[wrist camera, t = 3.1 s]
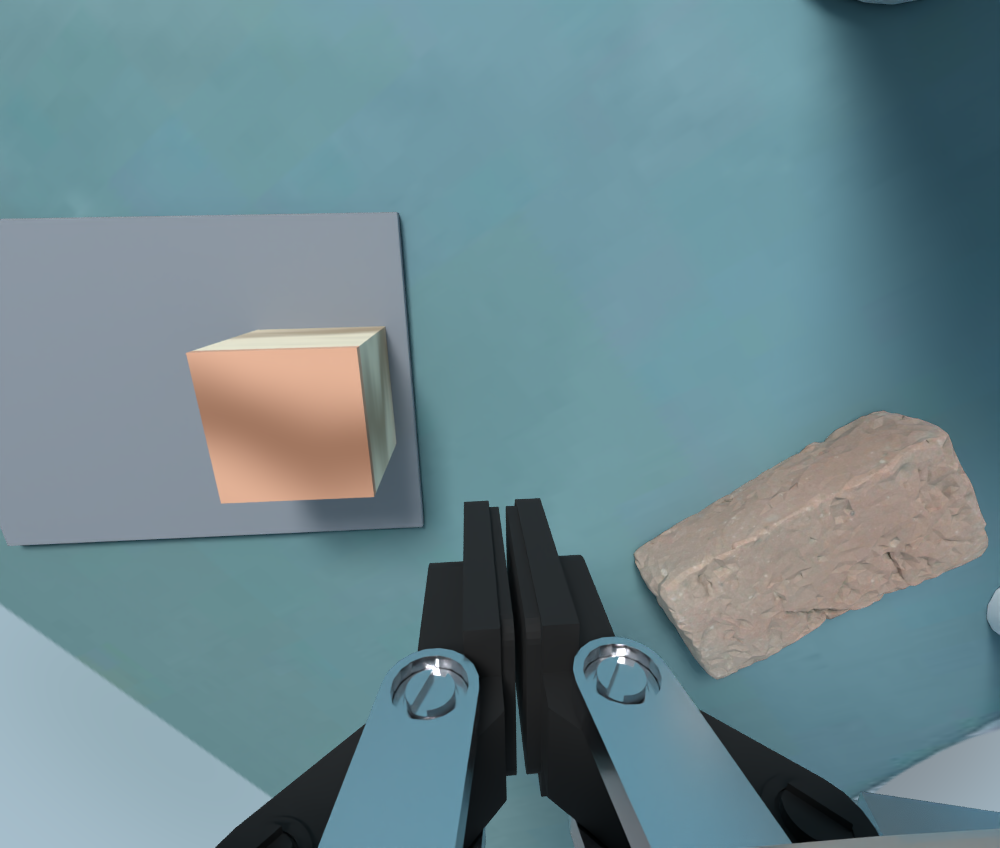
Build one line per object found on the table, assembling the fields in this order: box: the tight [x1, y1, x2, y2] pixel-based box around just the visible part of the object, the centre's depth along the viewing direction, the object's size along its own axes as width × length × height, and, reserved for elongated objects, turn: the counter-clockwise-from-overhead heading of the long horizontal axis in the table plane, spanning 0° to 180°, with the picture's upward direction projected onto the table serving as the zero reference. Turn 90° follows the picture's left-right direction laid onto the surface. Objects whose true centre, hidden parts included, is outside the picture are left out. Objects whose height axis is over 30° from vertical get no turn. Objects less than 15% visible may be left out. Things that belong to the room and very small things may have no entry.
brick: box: [634, 410, 988, 680], centre depth 27 cm, size 16×8×5 cm, turn 124°
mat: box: [0, 212, 424, 546], centre depth 24 cm, size 16×22×1 cm
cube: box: [186, 326, 396, 504], centre depth 21 cm, size 6×6×6 cm
